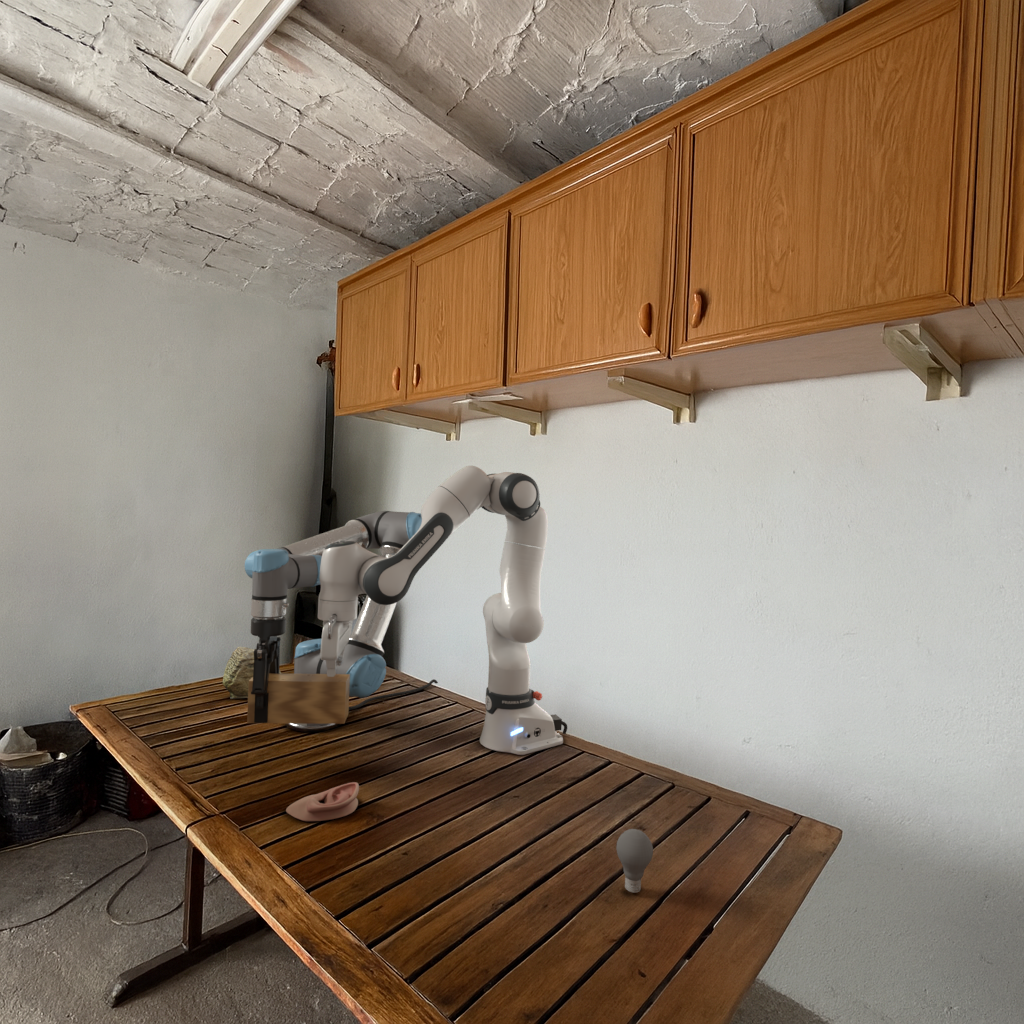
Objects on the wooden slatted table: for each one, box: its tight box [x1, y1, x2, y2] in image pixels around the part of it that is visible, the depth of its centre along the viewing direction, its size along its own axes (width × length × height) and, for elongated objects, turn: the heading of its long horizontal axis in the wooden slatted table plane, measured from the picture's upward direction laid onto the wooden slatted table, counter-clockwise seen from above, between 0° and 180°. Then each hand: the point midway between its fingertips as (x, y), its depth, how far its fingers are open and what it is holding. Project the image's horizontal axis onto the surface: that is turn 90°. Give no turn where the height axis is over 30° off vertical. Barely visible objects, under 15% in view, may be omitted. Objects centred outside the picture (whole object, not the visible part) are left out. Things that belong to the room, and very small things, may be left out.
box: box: [246, 672, 350, 725], centre depth 146 cm, size 21×6×10 cm, turn 96°
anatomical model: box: [285, 781, 360, 822], centre depth 129 cm, size 13×4×12 cm
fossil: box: [222, 646, 282, 699], centre depth 198 cm, size 9×18×15 cm, turn 132°
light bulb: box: [615, 828, 654, 894], centre depth 106 cm, size 6×6×10 cm
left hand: (265, 716), depth 146 cm, fingers closed on box, 6 cm apart
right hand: (334, 670), depth 147 cm, fingers open, 8 cm apart
